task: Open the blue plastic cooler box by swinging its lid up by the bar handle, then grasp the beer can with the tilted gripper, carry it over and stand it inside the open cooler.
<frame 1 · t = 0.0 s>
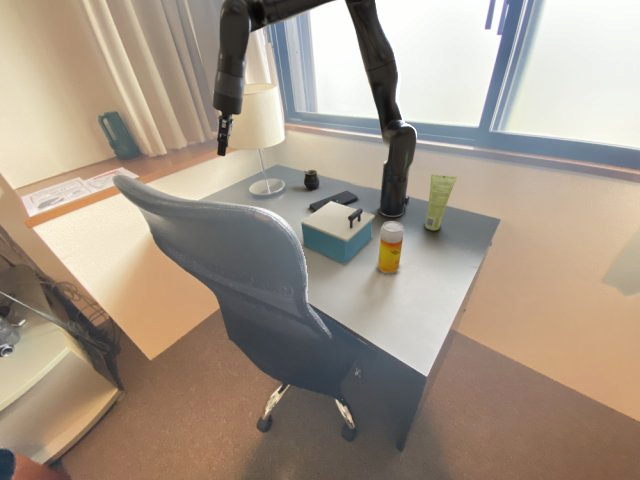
hand: (222, 150, 81), 31 cm above the table, tool tilted 20°, fingers open, 8 cm apart
cooler lid: (337, 213, 86), point 12 cm above the table, hinge at 0.0°
smart home device: (334, 204, 115), on the table
cooler: (337, 242, 93), on the table
beer can: (387, 268, 81), on the table
mate gourd: (312, 188, 129), on the table
tube: (432, 227, 97), on the table
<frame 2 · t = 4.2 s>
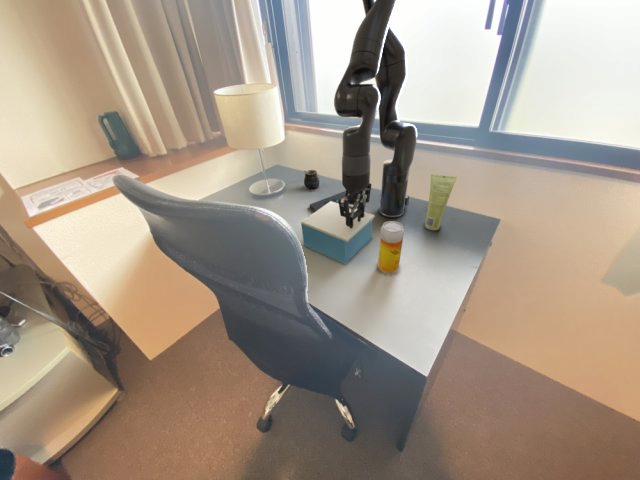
hand: (355, 221, 83), 11 cm above the table, tool pointing down, fingers closed on cooler lid, 5 cm apart
cooler lid: (337, 213, 86), point 12 cm above the table, hinge at 0.0°, touching gripper
everything else where it was.
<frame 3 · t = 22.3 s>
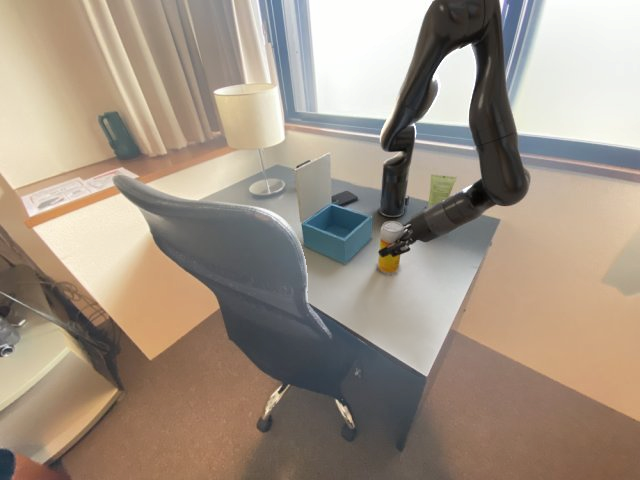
hand: (384, 247, 78), 7 cm above the table, tool tilted 45°, fingers closed on beer can, 6 cm apart
cooler lid: (309, 186, 88), point 18 cm above the table, hinge at 88.8°
beer can: (387, 268, 81), on the table, touching gripper
everything else where it was.
when the fingers open (8 cm above the table, at t = 32.8 s): beer can stays where it is, resting on cooler.
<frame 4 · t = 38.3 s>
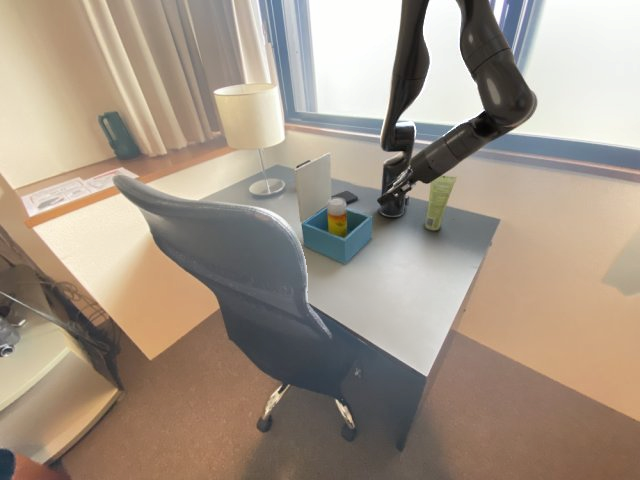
hand: (384, 195, 75), 21 cm above the table, tool tilted 45°, fingers open, 8 cm apart
beer can: (338, 240, 93), point 1 cm above the table, touching cooler
everything else where it was.
at the end: cooler lid at +89° (first picture: +0°); beer can inside the target area in the cooler (0.2 cm from its centre), point 0.8 cm above the cooler's base; beer can tilted 0° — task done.
